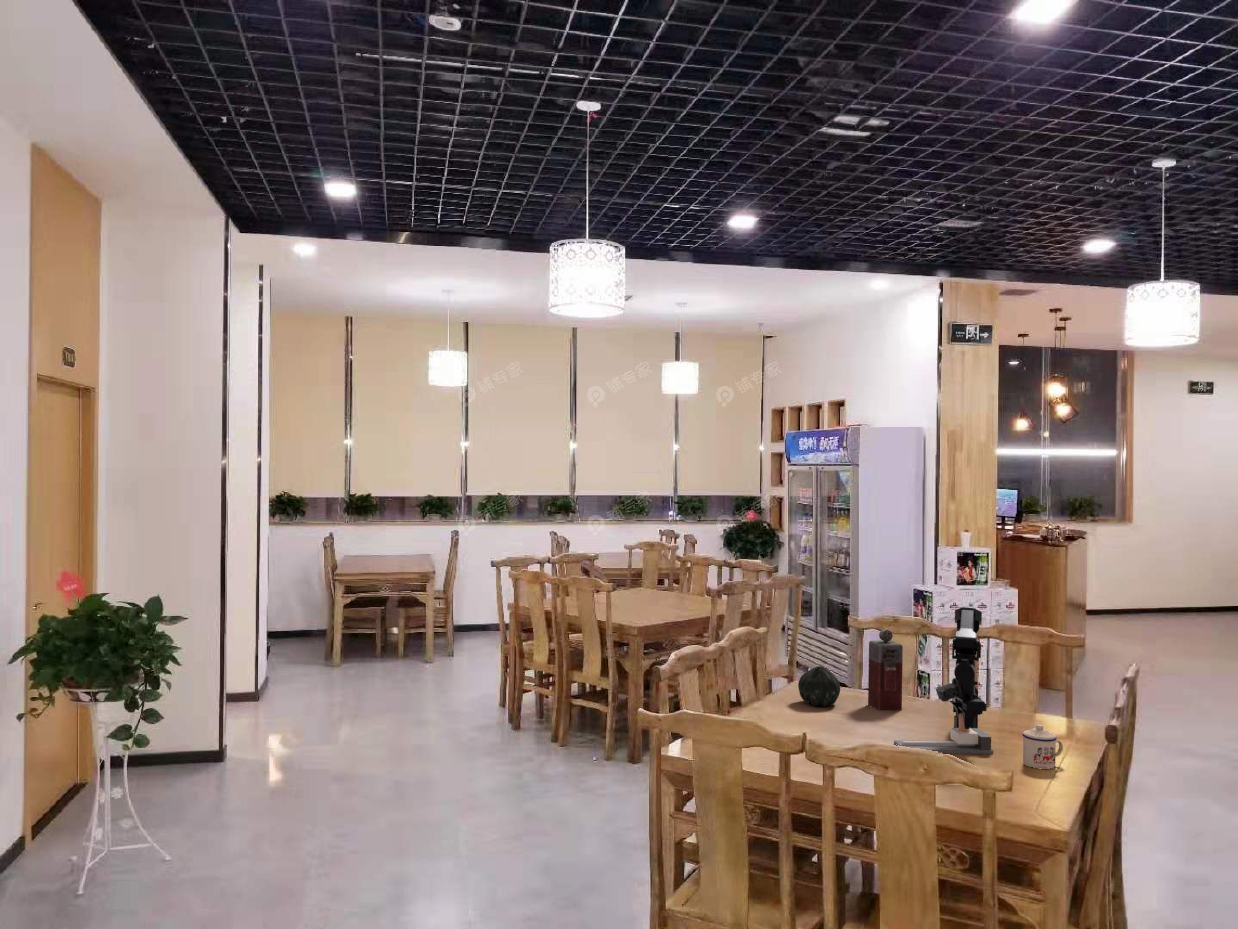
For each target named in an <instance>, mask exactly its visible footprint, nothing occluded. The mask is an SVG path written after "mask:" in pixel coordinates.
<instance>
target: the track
mask: <svg viewBox="0 0 1238 929" xmlns="http://www.w3.org/2000/svg"><path fill="white" fill-rule="evenodd" d="M970 729H972V730H973V731H975V732H976V733H978V744H958V743H956V742H955V741H954V740H913V739H912V740H908V739H907V740H905V739H903V740H901V739H900V740H894V741H893V744H894V745H895V744H897V745H899V746H905V747H910V748H920V749H926V750H932V751H938V752H942V753H941V754H968V755H969V754H971V755H973V754H978V755H979V754H983V755H985V754H988V755H989V754H990V755H991V754H992V755H993V754H994V750H993V749H992V736H990V735H989V734H988V733H986V732H984V731H982V730H981V729H980V728H979V727H978V728H970Z"/></svg>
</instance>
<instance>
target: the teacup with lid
mask: <svg viewBox="0 0 1238 929" xmlns="http://www.w3.org/2000/svg"><path fill="white" fill-rule="evenodd" d="M1022 736H1023V737H1022V740H1023V741H1022V763H1023V764H1024V765H1025V766H1026V767H1029V768H1031V767H1033V768H1032V769H1035V768H1041V769H1040V770H1042V769H1049V770H1051V769H1050V768H1053V769H1055V768H1056V757H1059V756H1060V755H1061V754H1062V752H1063V751H1064V750H1063V749H1064V744H1063V742H1062V741H1061V740H1059V739H1057V736H1056V734H1054V733H1052V732H1050V731H1049V730H1048V729H1046V728H1044V725H1042V724H1036V725H1035V727H1032V728H1030V729H1026V730H1024V731H1023V732H1022ZM1056 743H1058V750H1057V749H1056V748H1057V746H1056ZM1056 750H1057V751H1056ZM1054 767H1055V768H1054Z"/></svg>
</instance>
